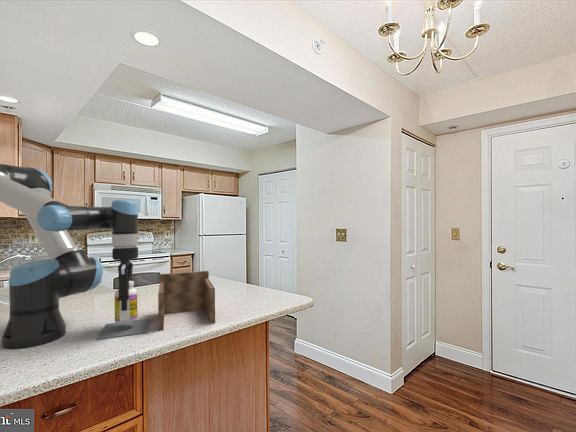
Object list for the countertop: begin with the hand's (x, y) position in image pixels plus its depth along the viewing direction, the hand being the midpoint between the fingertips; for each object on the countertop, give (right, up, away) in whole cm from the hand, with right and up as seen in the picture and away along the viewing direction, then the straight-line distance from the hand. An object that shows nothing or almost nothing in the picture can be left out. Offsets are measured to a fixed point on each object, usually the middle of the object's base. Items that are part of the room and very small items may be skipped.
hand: (126, 316), depth 101 cm
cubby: (+16, -4, +10) cm, 20 cm away
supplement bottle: (0, -2, 0) cm, 2 cm away
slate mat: (0, -4, 0) cm, 4 cm away
